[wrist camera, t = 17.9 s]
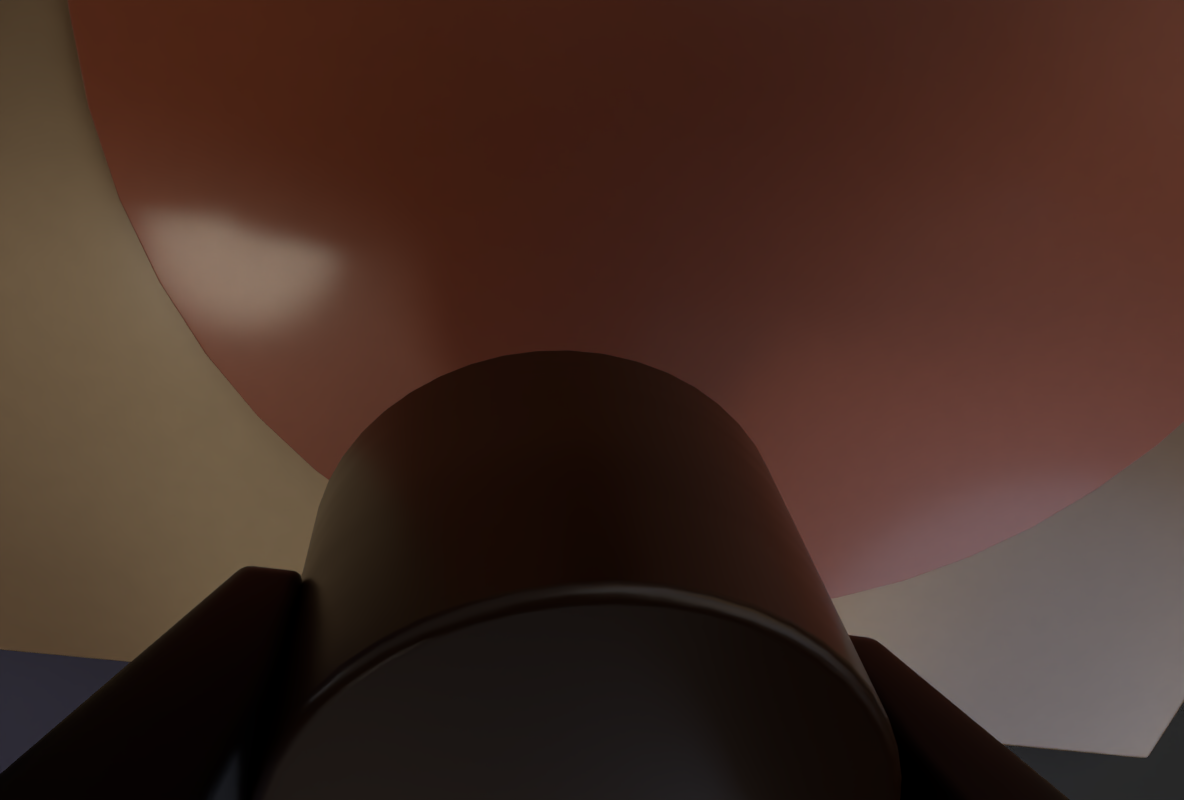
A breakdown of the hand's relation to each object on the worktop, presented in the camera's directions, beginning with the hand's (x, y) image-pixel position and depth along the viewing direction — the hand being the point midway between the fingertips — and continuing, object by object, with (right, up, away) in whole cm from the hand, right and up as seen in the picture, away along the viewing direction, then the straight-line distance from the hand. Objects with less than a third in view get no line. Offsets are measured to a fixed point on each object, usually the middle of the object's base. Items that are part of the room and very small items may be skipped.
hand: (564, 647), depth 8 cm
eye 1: (0, +1, +1) cm, 1 cm away
